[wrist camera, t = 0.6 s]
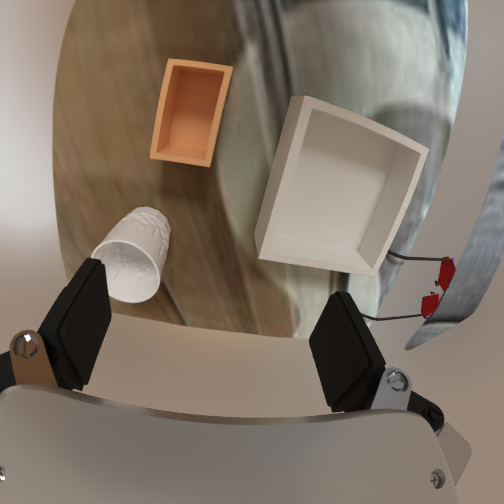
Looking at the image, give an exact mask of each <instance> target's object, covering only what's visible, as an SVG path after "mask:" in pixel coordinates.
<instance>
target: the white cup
mask: <svg viewBox="0 0 504 504" xmlns="http://www.w3.org/2000/svg"><path fill="white" fill-rule="evenodd" d="M170 234H171V228H170V225H169V223H168V220H167V218H166V217H165V216H164V215H163V214H162V213H161V212H160V211H158V210H156V209H153V208H151V207H137V208H135V209H134V210H132V211H131V212H129V213H128V214H127V215H126V216H125V217H124V218H123V219H122V220H121V221H120V222H119V223H118V224H117V225H116V226H115V227H114V228H113V229H112V230H111V231H110V232H109V233H108V235H107V236H106V237H105V238H104V239H103V240H102V242H101V243H100V244H99V245H98V246H97V247H96V249H95V250H94V252H93V253H92V256H91V258H94V259H100V260H101V262H102V264H105V267H106V277H107V286H108V293H109V296H111V297H113V298H115V299H117V300H119V301H123V302H127V303H139V302H143V301H146V300H148V299H150V298H151V297H152V296H153V295H154V294H155V293H156V292H157V290H158V288H159V285H160V280H161V276H162V272H163V268H164V264H165V260H166V256H167V251H168V247H169V241H170Z"/></svg>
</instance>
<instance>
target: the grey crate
mask: <svg viewBox="0 0 504 504" xmlns="http://www.w3.org/2000/svg"><path fill="white" fill-rule="evenodd" d="M428 151H429V149H428V148H426V147H424V146H423V145H421V144H419V143H417V142H415V141H414V140H412V139H410V138H408V137H406V136H404V135H402V134H400V133H398V132H396V131H394V130H392V129H390V128H388V127H386V126H384V125H381V124H379V123H377V122H375V121H373V120H370V119H368V118H366V117H363V116H361V115H359V114H356V113H354V112H351V111H349V110H346V109H344V108H341V107H338V106H336V105H333V104H330V103H327V102H325V101H322V100H319V99H316V98H313V97H310V96H306V95H300V96H291V99H290V102H289V106H288V110H287V113H286V117H285V121H284V124H283V128H282V132H281V135H280V139H279V143H278V146H277V150H276V154H275V157H274V161H273V165H272V168H271V172H270V176H269V179H268V183H267V187H266V191H265V194H264V198H263V202H262V205H261V209H260V213H259V216H258V220H257V224H256V227H255V231H254V238H255V243H256V248H257V254H258V259H264V260H270V261H276V262H282V263H289V264H295V265H301V266H308V267H314V268H321V269H327V270H334V271H340V272H347V273H353V274H360V275H366V276H373V277H375V275H376V273H377V271H378V270H379V268H380V266H381V264H382V262H383V260H384V258H385V256H386V254H387V252H388V250H389V247H390V245H391V243H392V241H393V239H394V237H395V235H396V233H397V230H398V228H399V226H400V224H401V221H402V219H403V217H404V214H405V212H406V210H407V207H408V205H409V203H410V200H411V198H412V195H413V193H414V190H415V187H416V185H417V182H418V179H419V177H420V174H421V171H422V168H423V166H424V163H425V160H426V157H427V154H428Z"/></svg>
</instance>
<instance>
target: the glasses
mask: <svg viewBox="0 0 504 504" xmlns="http://www.w3.org/2000/svg"><path fill="white" fill-rule="evenodd" d="M387 253H388V254H390V255H393V256H395V257H398V258H401V259H405V260H432V261H442V262H441V268H440V274H439V278H438V282H437V281H435V284H436V286H438V285H440V286H441V288H442V290H443V291H444V294H445V292H446V290H447V288H449V287H448V286H449V284H450V282H451V280H452V278H453V275H454V273H455V271H456V267H455V266H454V263H453V262H454V258H452V259H450V258H449V257H443V258H424V257H423V258H422V257H406V256H402V255H399V254H397V253H394V252H392V251H390V250H388V252H387ZM438 283H439V284H438ZM437 284H438V285H437ZM431 294H434V292H431ZM444 294H443V295H442V297H441V299H442V298H443V296H444ZM441 299H440V301H441ZM440 301H439V294H435V295H430V296H425V297H423V298H422V307H421V313H422V314H418V315H409V316H400V317H389V318H374V317H370V316H368V315H365V314H362V313H361V315H362V317H365V318H368V319H371V320H376V321H380V320H381V321H382V320H392V319H401V318H409V317H418V316H423V317H424V318H425V319H429V318H431V316H432V315H433V314H434V312H435V310H436V309H437V308H438V307H439V306H440V305H439V303H440ZM433 311H434V312H433ZM432 312H433V313H432ZM431 313H432V315H431V316H430V317H429V318H426V317H427V316H428V315H430V314H431Z"/></svg>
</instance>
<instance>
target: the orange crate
mask: <svg viewBox="0 0 504 504" xmlns="http://www.w3.org/2000/svg"><path fill="white" fill-rule="evenodd" d="M232 72H233V67H230V66H225V65H219V64H212V63H205V62H198V61H189V60H179V59H168V63H167V67H166V71H165V75H164V79H163V84H162V89H161V93H160V98H159V103H158V109H157V114H156V120H155V126H154V132H153V138H152V145H151V152H150V159H158V160H166V161H173V162H180V163H186V164H193V165H199V166H205V167H210V165H211V162H212V158H213V154H214V149H215V145H216V140H217V135H218V131H219V126H220V122H221V118H222V113H223V109H224V105H225V101H226V97H227V92H228V88H229V85H230V81H231V77H232Z"/></svg>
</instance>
